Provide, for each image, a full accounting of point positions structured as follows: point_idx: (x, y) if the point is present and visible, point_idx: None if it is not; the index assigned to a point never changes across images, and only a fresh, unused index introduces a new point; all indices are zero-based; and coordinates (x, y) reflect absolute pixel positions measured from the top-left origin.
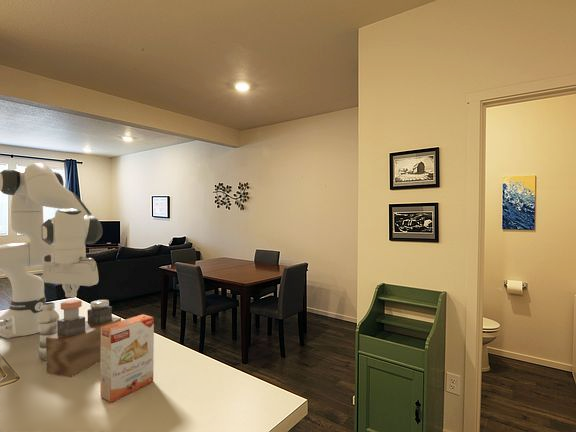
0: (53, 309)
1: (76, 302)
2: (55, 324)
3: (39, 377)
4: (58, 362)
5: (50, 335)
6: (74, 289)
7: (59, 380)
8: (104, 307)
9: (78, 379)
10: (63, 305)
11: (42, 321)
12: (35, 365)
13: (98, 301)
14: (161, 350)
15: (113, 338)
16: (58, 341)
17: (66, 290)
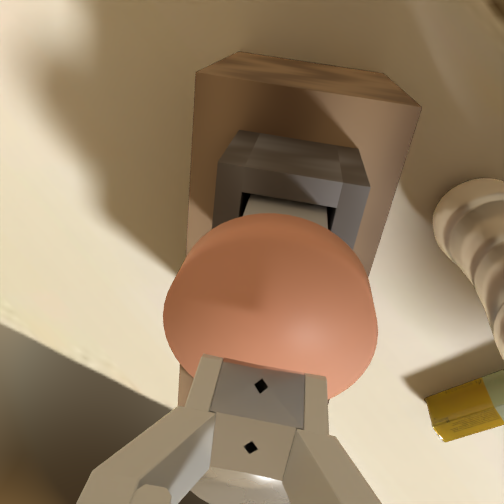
0: None
1: (204, 334)
2: (493, 300)
3: (389, 27)
4: (309, 69)
5: (492, 246)
6: (124, 457)
7: (268, 14)
8: None
9: (189, 37)
10: (279, 236)
11: None
12: (495, 138)
13: (257, 486)
14: (57, 300)
15: None
16: (303, 85)
17: (309, 463)
